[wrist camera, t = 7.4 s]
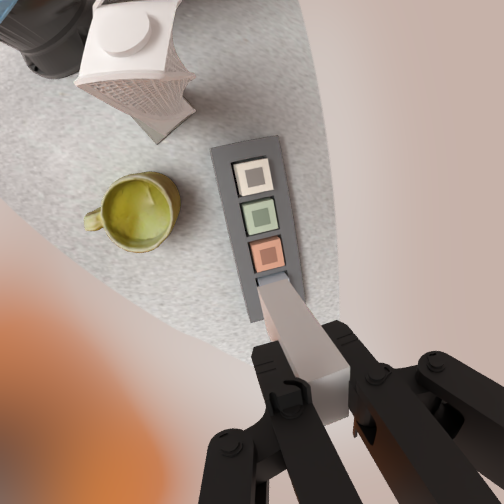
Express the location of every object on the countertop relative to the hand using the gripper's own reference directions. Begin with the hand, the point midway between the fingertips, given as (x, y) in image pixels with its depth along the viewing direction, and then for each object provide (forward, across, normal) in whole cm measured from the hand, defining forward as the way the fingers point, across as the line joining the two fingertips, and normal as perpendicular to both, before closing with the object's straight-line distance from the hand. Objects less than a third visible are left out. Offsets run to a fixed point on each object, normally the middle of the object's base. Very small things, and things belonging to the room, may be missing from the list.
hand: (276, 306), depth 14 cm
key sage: (+28, +4, -2) cm, 28 cm away
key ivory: (+27, +4, +3) cm, 27 cm away
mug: (+28, -12, +3) cm, 31 cm away
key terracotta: (+28, +4, -8) cm, 29 cm away
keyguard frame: (+28, +4, -5) cm, 29 cm away
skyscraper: (+29, -4, +15) cm, 33 cm away
